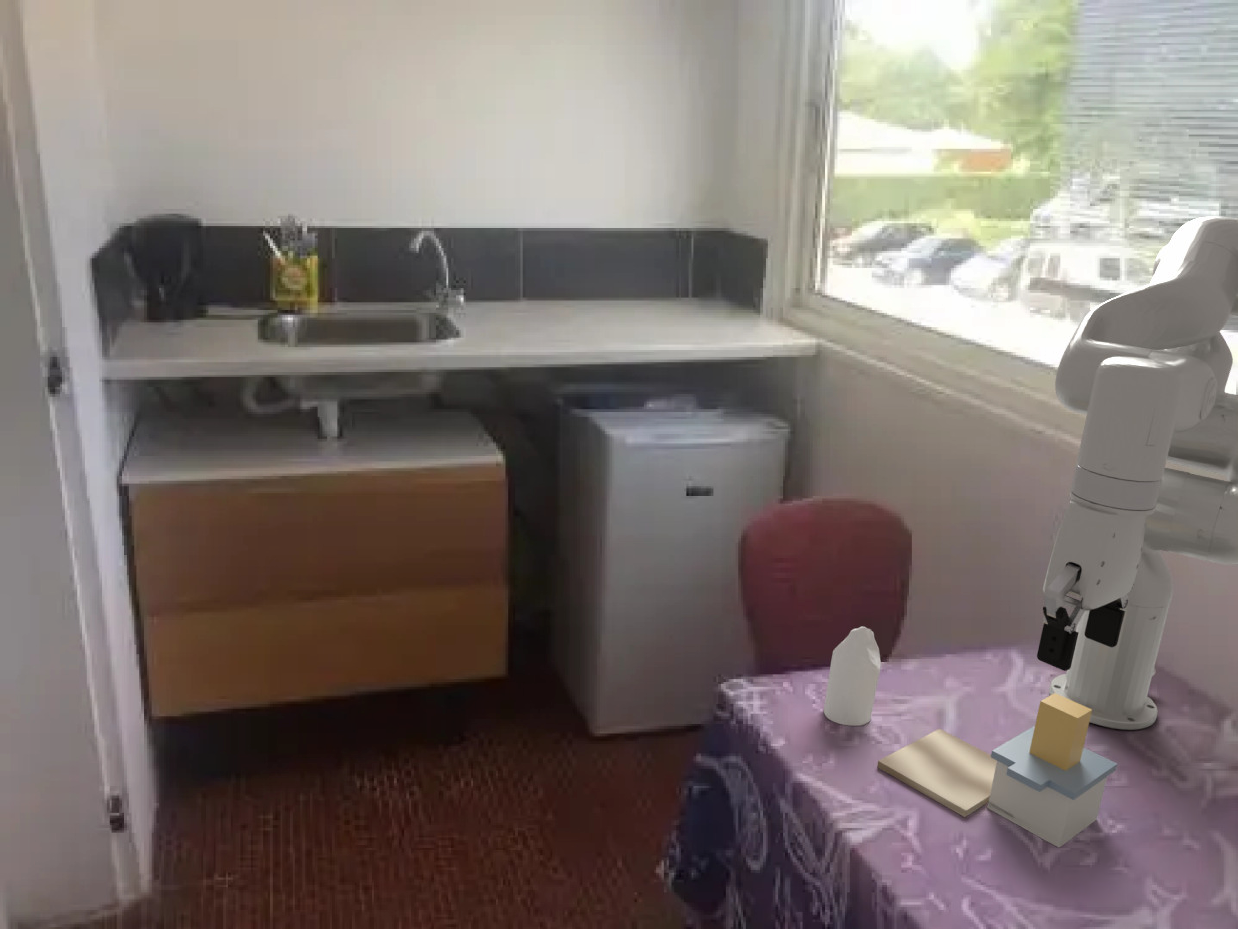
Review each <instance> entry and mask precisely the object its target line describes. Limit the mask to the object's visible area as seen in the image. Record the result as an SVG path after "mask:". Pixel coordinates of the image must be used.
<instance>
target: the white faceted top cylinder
mask: <svg viewBox="0 0 1238 929" xmlns="http://www.w3.org/2000/svg"><path fill="white" fill-rule="evenodd" d="M881 663H882V662H881V655H880V648H879V645H878V644H877V641H876V639H875V633H874V631H872V629H871V628H867V627H866V626H860V627H858V628H853V629H851V630H850V632H849V633H848V635H847V636H846V637H845V638H844V640H843V641H841V642H840V643H839V644H838V645H837V646H836V647H835V648H834V649H833V651H832V656H831V661H830V666H829V668H830V669H829V673H828V674H829V675H828V680H827V687H826V694H825V700H824V705H823V713H824V715H825V717H826V718H827V719H828V720H830V721H831V722H833V723H836V724H840V725H844V726H854V727H856V726H860V727H861V726H863V725H867V724H868V723H869V722H870V721H871V720H872V719H871V718H872V713H873V708H874V704H875V697H876V692H877V687H878V682H879V678H880V673H881V665H882V664H881Z"/></svg>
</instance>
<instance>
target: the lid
mask: <svg viewBox="0 0 1238 929" xmlns="http://www.w3.org/2000/svg"><path fill="white" fill-rule="evenodd" d="M1091 713H1092V709H1090V708H1087V707H1085V706H1083V705H1081V704H1078V703H1076V702H1074V701H1072V700H1070V699H1067V698H1065V697H1063V696H1061V695H1058V694H1056V693H1054V694H1052V695H1050V694H1049V696H1047V697H1045V698H1043V699H1042V700H1040V702H1039V706H1038V710H1037V716H1036V720H1035V724H1034V725H1033V726H1032V727H1030V728H1028V729H1027V730H1025V731H1023V732H1022V733H1020V734H1018V735H1017V736H1015V737H1013V738H1011V739H1009V740H1008V741H1006V742H1004V743H1002V744H1000V745H999V746H997V747H996V748H994V749H993V750H991V754H990V755H991V758H993V759H995V760H997V761H999V762H1001V763H1003V764H1005V765H1006V766H1008V769H1007V774H1006V775H1008V776H1010V777H1012V778H1013V779H1015V780H1017V781H1019V782H1021V783H1023V784H1025V785H1027V786H1029V787H1031V788H1033V789H1034V790H1036V791H1038V792H1041V791H1042V790H1044V789H1045V788H1047V787H1049V788H1051V789H1053V790H1055V791H1057V792H1059V793H1061V794H1063V795H1065V796H1067V797H1068V798H1070V799H1072V800H1074V799H1076V798H1077V797H1079V796H1080V795H1082V794H1083V793H1084V792H1086V791H1087V790H1089V789H1090V788H1092V787H1093V786H1094V785H1096V784H1097V783H1099V782H1100V781H1102V780H1103V779H1104V778H1106V777H1107V778H1108V776H1110V775H1111V774H1113V773H1115V771H1117V769H1118V768H1117V767H1118V763H1117V762H1115V761H1112V760H1110V758H1109V759H1108V758H1107V757H1104V756H1102V755H1100V754H1099V753H1096V752H1094V751H1091V750H1089V749H1087V748H1086V747H1085V744H1086V743H1085V742H1086V738H1087V734H1088V729H1089V724H1090V722H1089V721H1090V717H1091Z"/></svg>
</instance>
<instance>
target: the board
mask: <svg viewBox="0 0 1238 929" xmlns="http://www.w3.org/2000/svg"><path fill="white" fill-rule="evenodd" d="M996 763H997V760H995V759H993V758H991V754H990V753H987V752H986V751H984V750H982V749H980V748H979V747H976V746H974V745H972V744H970V743H968V742H966V741H964V740H962V739H960V738H959V737H957V736H955V735H953V734H951V733H950V732H947V731H945V730H943V729H942V728H938V729H936V730H934V731H932V732H931V733H929V734H927V735H924V736H923V737H920V738H919V739H917V740H915V741H914V742H911V743H909V744H908V745H905V746H904V747H902V748H900V749H898V750H896V751H894V752H892V753H890V754H888V755H886V756H884V757H883V758H881V759H879V760H878V761H877V765H876V767H877V768H878V769H880V770H881V771H883V772H885V773H887V774H888V775H890V776H892V777H893V778H896V779H897V780H899V781H901V782H902V783H904V784H906V785H907V786H910V787H911V788H912V789H915V790H916V791H918V792H920V793H922V794H923V795H926V796H927V797H929V798H931V799H932V800H934V801H936V802H937V803H939V804H941V805H943V806H944V807H946V808H948V809H949V810H951V811H953V812H955V813H956V814H958V815H961V816H962V817H963V818H966V817H967V816H969V815H971V814H973V813H974V812H975V811H977V810H978V809H980V808H982V807H983V806H985V805H986V804H988V802H989V797H990V792H991V788H992V783H993V778H994V773H995V768H996Z"/></svg>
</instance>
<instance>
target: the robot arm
mask: <svg viewBox="0 0 1238 929" xmlns="http://www.w3.org/2000/svg"><path fill="white" fill-rule="evenodd" d="M1151 276H1152V277H1151V280H1150V282H1149V284H1146V285H1143V286H1140V287H1137V288H1134V289H1132V290H1129V291H1127V292H1124V293H1122V294H1120V295H1118V296H1115V297H1113V298H1111V299H1108V300H1106V301H1105V302H1102V303H1100V304H1099V305H1097V306H1095V307H1093V309H1091V310H1090V311H1089V312H1088V313H1087V314H1086V315H1084V318H1083V319H1082V320H1081V322H1080V323H1079V324H1078V326H1077V328H1076V329H1075V332H1074V333H1073V335H1072V337H1071V339H1070V341H1069V342H1068V344H1067V346H1066V347H1065V350H1064V352H1063V355H1062V357H1061V359H1060V361H1059V365H1058V366H1057V367H1058V368H1057V371H1056V374H1055V382H1054V383H1055V384H1054V386H1055V394H1056V397H1057V400H1058V401H1059V403H1060V404H1061V406H1063V407H1064V408H1066V409H1067V410H1069V411H1070V412H1073V413H1077V414H1081V415H1085V416H1086V417H1085V420H1084V425H1083V431H1082V434H1081V435H1082V436H1081V440H1080V444H1079V449H1078V454H1077V458H1076V463H1075V467H1074V472H1073V477H1072V480H1071V486H1070V491H1069V494H1068V495H1069V498H1070V499H1071V500H1070V501H1069V503H1068V504H1067V508H1066V510H1065V512H1064V515H1063V518H1062V520H1061V523H1060V525H1059V529H1058V531H1057V535H1056V537H1055V538H1056V539H1055V541H1054V545H1053V549H1052V552H1051V556H1050V559H1049V562H1048V566H1047V571H1046V575H1045V578H1044V583H1043V588H1042V592H1043V598H1044V599H1043V600H1044V606H1042V607H1043V608H1042V613H1043V617H1042V623H1043V626H1042V629H1041V634H1040V640H1039V644H1038V650H1037V653H1036V659H1037V660H1039V661H1041V662H1042V663H1045V664H1047V665H1049V666H1051V667H1054V668H1056V669H1059V670H1061V671H1064V672H1066V673H1063V674H1060V675H1058V676H1056V677H1053V679H1052V680H1051V682H1050V686H1049V690H1048V691H1049V696H1050V695H1052V694H1054V693H1056V694H1058V695H1061V696H1063V697H1065V698H1067V699H1070V700H1072V701H1074V702H1076V703H1078V704H1081V705H1083V706H1085V707H1087V708H1090V709H1092V713H1091V717H1090V721H1089V724H1094V725H1097V726H1100V727H1101V726H1102V727H1105V728H1110V729H1117V730H1129V731H1131V730H1142V729H1146V728H1148V727H1150V726H1152V725H1153V724H1154V723H1156V720H1157V717H1158V707H1157V705H1156V704H1155V703H1154V701H1153V700H1152V698H1150V697H1149V696H1148V693H1149V690H1150V685H1151V682H1152V677H1153V676H1154V675H1156V671H1157V670H1156V667H1155V665H1156V661H1157V658H1158V654H1159V649H1160V645H1161V642H1162V637H1163V633H1164V629H1165V625H1166V622H1167V616H1168V613H1169V609H1170V605H1171V601H1172V598H1173V593H1174V580H1173V576H1172V573H1171V572H1172V571H1171V570H1170V568H1169V565H1168V564H1167V562H1166V560H1165V557H1164V556H1163V554H1162V552H1161V551H1163V552H1168V553H1169V552H1170V553H1174V554H1179V555H1182V556H1186V557H1189V558H1195V559H1198V560H1202V561H1206V562H1211V563H1214V564H1215V563H1216V564H1221V565H1226V566H1235V565H1238V394H1234V393H1228V392H1225V391H1226V385H1227V384H1228V380H1229V376H1230V373H1231V370H1232V366H1233V354H1232V352H1231V349H1230V348H1229V346H1228V344H1227V342H1226V340H1225V338H1224V336H1223V335H1222V333H1221V331H1222V329H1223V328H1224V327H1225V325H1226V324H1227V322H1228V321H1229V317H1230V316H1235V317H1238V217H1237V218H1236V217H1229V216H1228V217H1227V216H1202V217H1198V218H1195V219H1192V220H1190V221H1188V222H1186V223H1184V224H1183V225H1182V226H1180V227H1179V228H1178V230H1176V231H1175V233H1174V234H1173V235H1172V237H1171V239H1170V241H1169V242H1168V244H1166V245H1165V246H1163V247H1162V248H1161V250H1160V251H1159V252H1158V254H1157V256H1156V258H1155V261H1154V264H1153V269H1152V275H1151ZM1167 463H1169V464H1173V465H1177V466H1181V467H1187V468H1191V469H1195V470H1196V469H1197V470H1200V471H1204V472H1210V473H1214V474H1218V475H1223V476H1224V477H1225V478H1226V480H1224V479H1219V478H1214V477H1209V476H1205V475H1199V474H1194V473H1191V472H1187V471H1183V470H1178V469H1174V468H1169V467H1166V464H1167ZM1069 595H1071V596H1073V597H1071V596H1069ZM1075 597H1076V598H1075ZM1077 598H1079V599H1077ZM1063 606H1067V607H1069V608H1072V609H1073V610H1072V613H1071V614H1070V616H1069V613H1068V611H1067V608H1066V607H1063Z"/></svg>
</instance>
